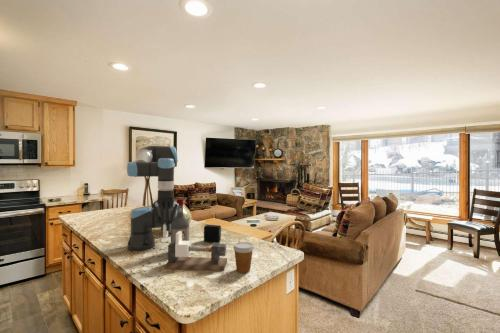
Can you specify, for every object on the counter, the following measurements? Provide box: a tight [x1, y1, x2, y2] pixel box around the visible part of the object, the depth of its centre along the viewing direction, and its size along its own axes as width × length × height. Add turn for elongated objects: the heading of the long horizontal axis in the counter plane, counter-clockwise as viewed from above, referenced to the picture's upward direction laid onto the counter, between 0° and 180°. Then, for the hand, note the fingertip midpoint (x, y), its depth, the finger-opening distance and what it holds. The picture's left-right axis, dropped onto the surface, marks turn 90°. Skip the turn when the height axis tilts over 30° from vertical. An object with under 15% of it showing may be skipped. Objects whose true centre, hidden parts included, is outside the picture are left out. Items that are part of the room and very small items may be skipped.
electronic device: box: [203, 224, 222, 244], centre depth 158 cm, size 4×10×10 cm, turn 78°
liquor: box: [170, 198, 190, 243], centre depth 138 cm, size 9×9×30 cm
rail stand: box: [165, 241, 228, 272], centre depth 121 cm, size 28×10×10 cm, turn 87°
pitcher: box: [168, 197, 192, 234], centre depth 180 cm, size 22×24×25 cm
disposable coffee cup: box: [233, 241, 254, 274], centre depth 116 cm, size 10×10×12 cm
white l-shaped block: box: [175, 231, 192, 257], centre depth 121 cm, size 6×6×11 cm
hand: (165, 237), depth 122 cm, fingers closed
